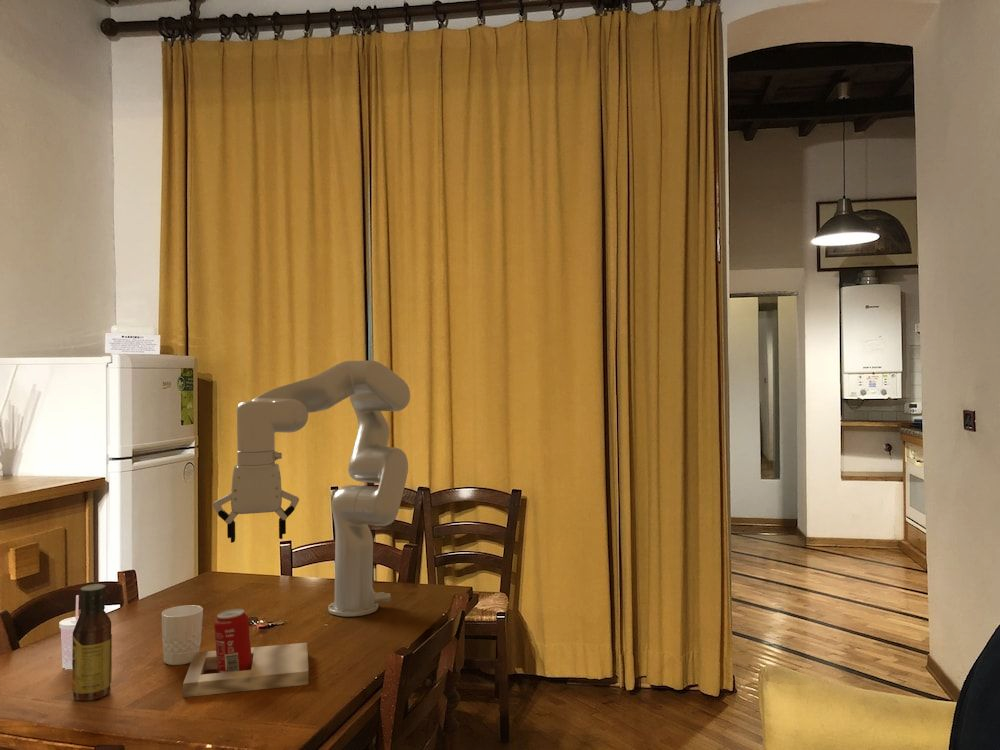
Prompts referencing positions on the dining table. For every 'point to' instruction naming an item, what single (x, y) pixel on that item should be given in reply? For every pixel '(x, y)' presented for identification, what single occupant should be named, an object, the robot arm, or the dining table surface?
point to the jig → (249, 671)
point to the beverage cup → (68, 637)
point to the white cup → (181, 633)
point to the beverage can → (232, 641)
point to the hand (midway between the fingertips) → (257, 539)
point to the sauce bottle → (92, 646)
